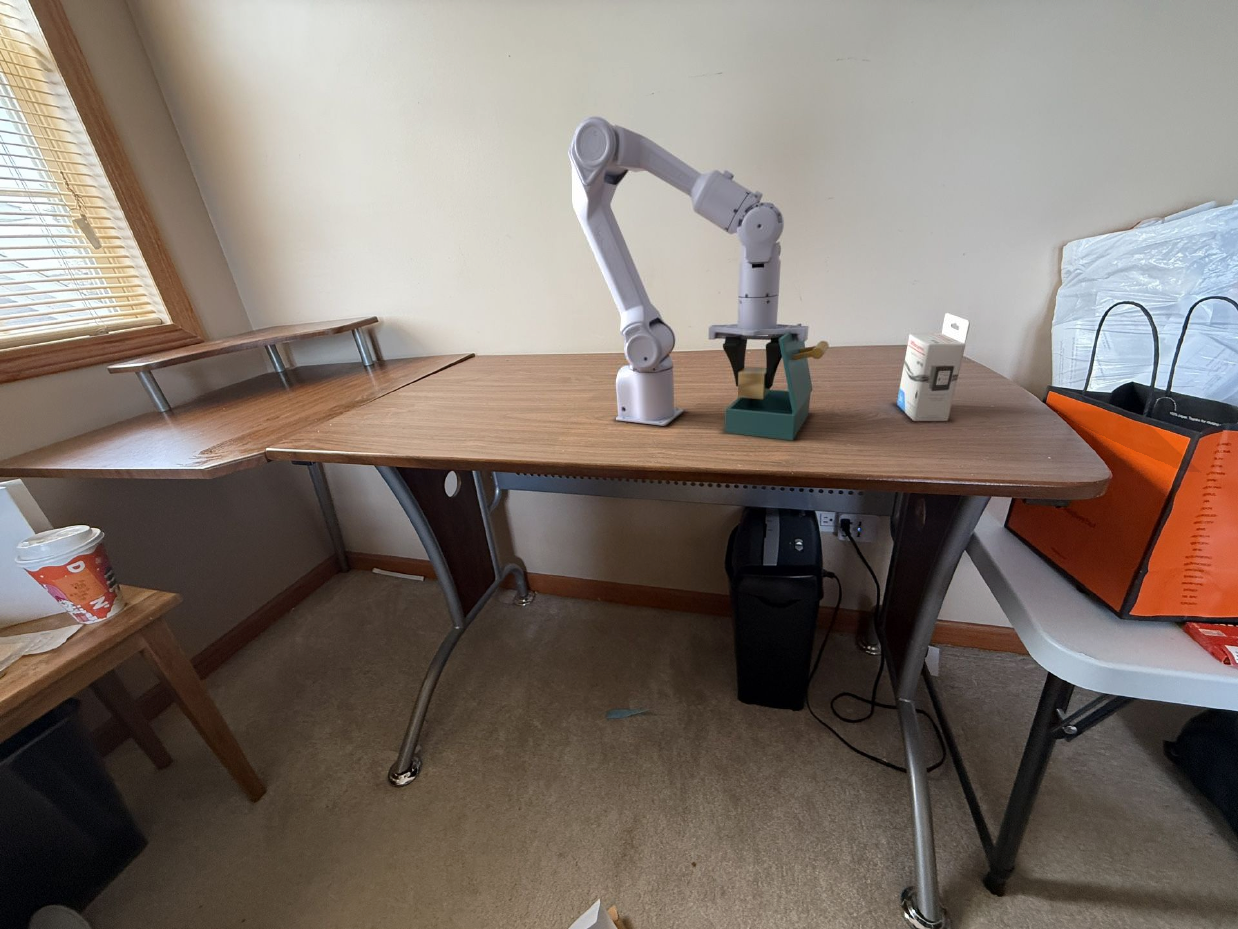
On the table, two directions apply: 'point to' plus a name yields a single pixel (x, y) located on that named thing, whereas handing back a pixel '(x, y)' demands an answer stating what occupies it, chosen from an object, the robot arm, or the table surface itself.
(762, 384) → the block
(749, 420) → the chest
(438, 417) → the table surface
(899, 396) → the ink box
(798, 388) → the chest lid
